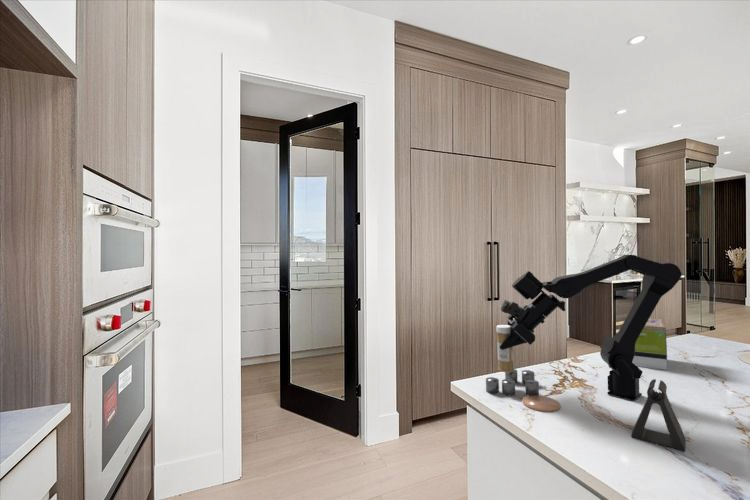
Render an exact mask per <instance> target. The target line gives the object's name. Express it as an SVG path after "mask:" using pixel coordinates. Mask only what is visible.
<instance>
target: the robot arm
mask: <svg viewBox="0 0 750 500" xmlns="http://www.w3.org/2000/svg"><path fill="white" fill-rule="evenodd" d="M628 271H632V272H635V273H638V274H641V275H643V276H642V281H641V291H640V293H639V294H638V296H637V297H636V300H635V301H634V303H633V305H632V306H631V309H630V310H629V312H628V314H627V316H626V318H625V319H624V321H623V323H622V324H621V326H620V328H619V330H618V331H617V333H616V334H615V335H613V336H612V337H610V336H608V335H606V336H605V338H604V340H603V343H602V344H600V345H599V348H600V351H599V354H600V358H601V359H602V360H603V362H605V363H606V364H607V365H608V368H609V369H611V370H609V371H608V372H609V375H607V390H608V392H606V393H607V395H610V396H612V397H616V398H620V399H625V400H627V401H632V402H635V401H637V400H638V399H639V398H641V396H642V394H643V393H642V392H640V379H641V378H642V375H643V370H641V368H640V367H639V366H636V365H635V364H634V363H632V361H633V358H634V355H635V343H636V341H637V339H638V337H639V335H640V334H641V332H642V330H643V328H644V327H645V325H646V323H647V321H648V320H649V319H651V316H652V314H653V312H654V311H655V309H656V308H657V305H658V304H659V301H660V300H661V299H662V297H664V295H666V294H668V292H670V291H671V290H672V289H673V288H674V287H675V286H676V285H677V283H678V282H680V280H681V278H682V271H681V268H680V267H679V266H677V265H676V264H675V263H670V262H660V261H658V262H657V261H653V260H650V259H646V258H643V257H640V256H638V255H635V254H623V255H621V256H620V257H617V258H615V259H613V260H610V261H608V262H604V263H602V264H600V265H597V266H593V267H592V268H590V269H587V270H584V271H581V272H578V273H572V274H571V273H570V274H567V275H562V276H561V275H560V276H557V277H555V278H553V279H552V280H551V281H544V282H541V281H540V280H539V279H538V278H537V277H536V276H535V275H534V274H533V272H531V271H529V270H527V271H526V272H525V273H524V274H522V275H521V276H520V277H518V278H516V280H515V281H514V282H513V283H512V284H511V287H512V288H513V289H514V290H516V292H517V293H518V294H519V295H520V296H522V297H523V298H524V299H525V300H529V299H530V300H531V302H530V303H529V304H528V305H526V304H525V305H523V307H522V306H520V305H519V303H516V302H514V301H509V300H506V299H504V301H503V303H502V305H501V308H500V311H501V313H504V314H509V315H508V316H506V317H507V319H508V320H507V324H506V325H510V333H509V335H508V336H507V337H506V339H505V340H504V341H503V343H502V344H501V346H500V349H501V350H504V349H507V348H510V347H516V346H520V345H523V344H529V345H530V346H531V345H532V344H534V342H535V341H536V335H535V334H534V332H535V329H536V328H537V327H538V326H539V325H540V324H541V325H543V324H544V323H546V321H545V319H547V318H548V317H549V316H550V315H551V314H553V312H554V311H555V310H556V309H557V308H558V309H560V310H561V311H562V312H565V311H566V302H565V301H564V300H559V299H558V298H557V297H559V298H561V299H570V298H572V297H574V296H576V295H578V294H579V293H581V292H582V291H583V290H585V289H586V288H588V287H589V286H591V285H594V284H597V283H599V282H602V281H604V280H607V279H609V278H612V277H614V276H617V275H618V276H619V274H623V273H625V272H628ZM543 289H544V290H543ZM545 291H547V292H548V293H552V294H549V295H548V294H547V293H546V292H545ZM555 295H556V296H557V297H556V296H555ZM511 326H512V327H511Z"/></svg>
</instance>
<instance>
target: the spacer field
mask: <svg viewBox="0 0 750 500" xmlns="http://www.w3.org/2000/svg"><path fill="white" fill-rule="evenodd" d="M504 374H505V375H504V379H502V380H501V394H502V395H503V396H507V397H514V396H516V384H518V379H519V378H518V370H517V369H515V368H514V370H513V371H512V372H504ZM535 378H536V377H535V372H534V371H533V370H528V369H526V370H525V369H524V370H521V384H522V385H524V387H525V388H524V390H525V392H524V393H525V395H526V396H531V395H539V396H540V382H539V381H538V380H536V379H535ZM485 390H486V391H485V392H486V393H487V394H492V395H494V394H495V395H496V394H499V393H500V381H499V378H497V377H494V376H493V377H491V376H490V377H489V376H488V377H486V378H485Z"/></svg>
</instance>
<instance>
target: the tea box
mask: <svg viewBox="0 0 750 500" xmlns="http://www.w3.org/2000/svg"><path fill="white" fill-rule="evenodd" d="M667 344H668V343H667V328H666V325H665V322H664V320H663V319H662V318H661V319H659V318H649V320H648V321H647V323H646V325H645V327H644V328H643V330H642V332H641V334H640V335H639V337H638V339H637V341H636V343H635V355H634V358H633V361H632V363H634V364H635V365H636V366H637V367H638V368H647V369H655V370H665V371H666V370H668V346H667Z"/></svg>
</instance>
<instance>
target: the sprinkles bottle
mask: <svg viewBox="0 0 750 500" xmlns="http://www.w3.org/2000/svg"><path fill="white" fill-rule="evenodd" d="M511 327H512V326H511ZM509 333H510V325H508V324H498V325H496V335H497V337H496V338H497V339H496V340H497V343H496V344H497V363H498V364H497V365H498V367H497V369H498V371H500V372H502V373H505V372H512V371H513V370H514V369H515V368H514V349H513V347H514V346H513V347H510V348H507V349H504V350H501V349H500V346H501V344H502V343H503V341H504V340H505V339H506V337H507V336H508V335H509Z"/></svg>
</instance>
